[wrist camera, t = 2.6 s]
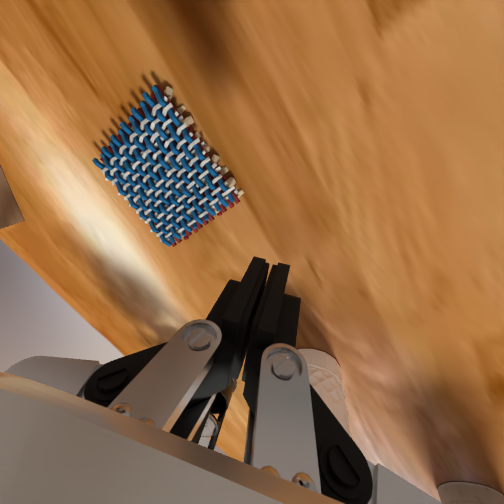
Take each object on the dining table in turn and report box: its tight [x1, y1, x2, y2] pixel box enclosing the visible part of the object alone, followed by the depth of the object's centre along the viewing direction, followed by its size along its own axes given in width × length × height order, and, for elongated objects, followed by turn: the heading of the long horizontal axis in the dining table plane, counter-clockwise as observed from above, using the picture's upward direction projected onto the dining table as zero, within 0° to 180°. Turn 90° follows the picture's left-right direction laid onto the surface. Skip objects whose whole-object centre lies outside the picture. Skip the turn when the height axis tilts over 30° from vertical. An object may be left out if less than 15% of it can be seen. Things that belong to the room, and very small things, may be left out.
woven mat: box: [93, 85, 244, 247], centre depth 21 cm, size 10×11×2 cm
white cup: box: [298, 349, 352, 438], centre depth 25 cm, size 8×8×10 cm
